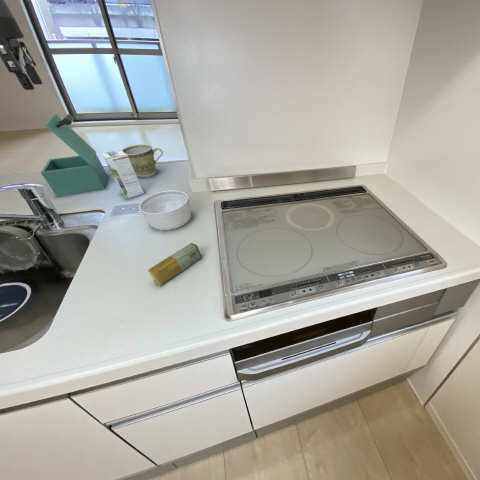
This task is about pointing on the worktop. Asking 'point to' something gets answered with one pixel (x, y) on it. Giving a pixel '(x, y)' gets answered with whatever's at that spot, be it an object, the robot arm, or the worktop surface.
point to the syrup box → (123, 173)
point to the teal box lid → (71, 137)
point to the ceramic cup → (142, 159)
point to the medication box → (175, 264)
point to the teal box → (74, 175)
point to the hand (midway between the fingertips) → (34, 86)
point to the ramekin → (166, 209)
